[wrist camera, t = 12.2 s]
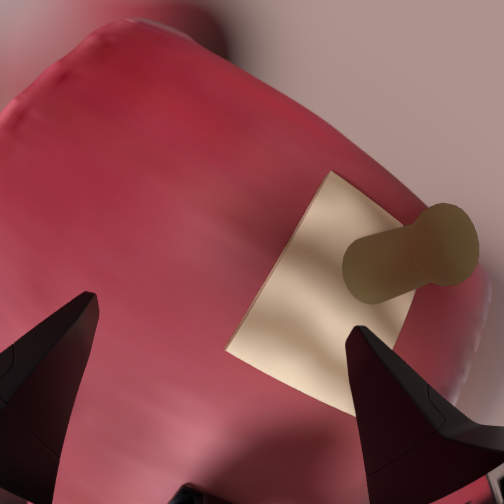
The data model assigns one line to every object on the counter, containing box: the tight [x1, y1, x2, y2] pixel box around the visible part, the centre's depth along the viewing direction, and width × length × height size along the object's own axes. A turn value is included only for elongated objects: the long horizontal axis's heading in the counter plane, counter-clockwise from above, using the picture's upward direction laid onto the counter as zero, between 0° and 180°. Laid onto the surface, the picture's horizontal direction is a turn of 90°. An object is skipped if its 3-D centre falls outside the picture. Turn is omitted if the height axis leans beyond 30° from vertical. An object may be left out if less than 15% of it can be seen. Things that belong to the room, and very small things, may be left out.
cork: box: [342, 203, 479, 305], centre depth 19 cm, size 6×6×11 cm
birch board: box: [224, 171, 416, 417], centre depth 24 cm, size 18×13×2 cm
